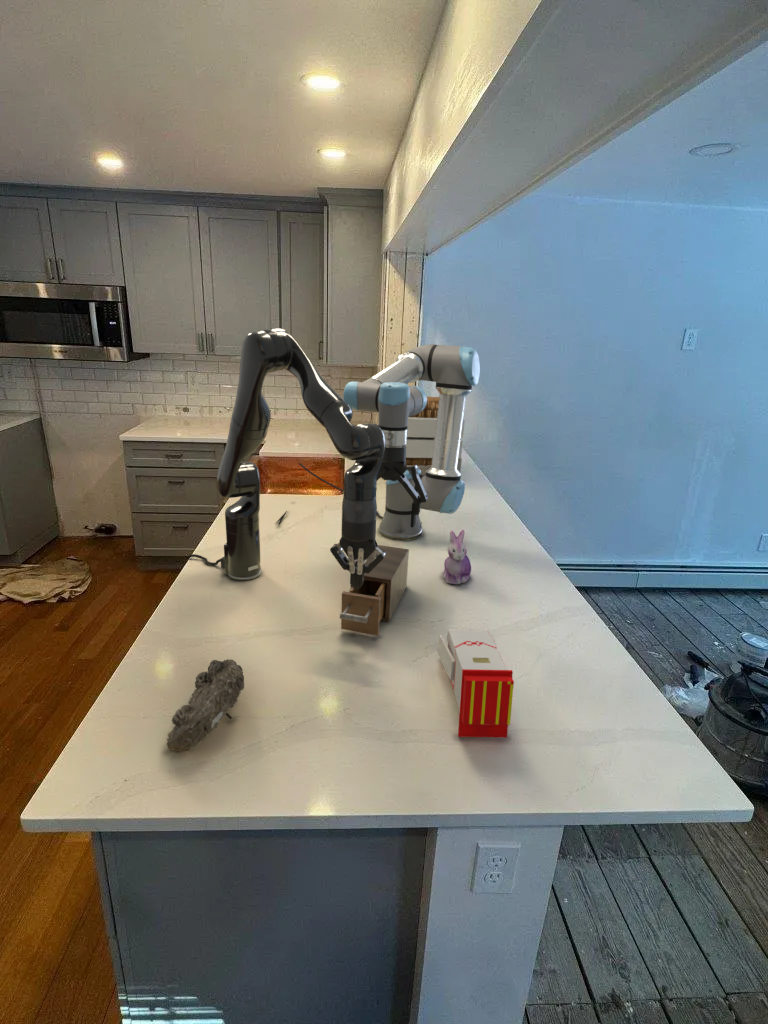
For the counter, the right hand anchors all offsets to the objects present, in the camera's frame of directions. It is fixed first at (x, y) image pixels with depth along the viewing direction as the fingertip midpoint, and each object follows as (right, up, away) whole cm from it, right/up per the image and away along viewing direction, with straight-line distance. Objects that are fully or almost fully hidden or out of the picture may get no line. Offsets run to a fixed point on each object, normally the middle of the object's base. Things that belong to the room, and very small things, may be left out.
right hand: (388, 522), depth 152 cm
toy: (+17, -35, -33) cm, 51 cm away
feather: (-38, +2, +61) cm, 72 cm away
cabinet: (-2, -21, +2) cm, 21 cm away
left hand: (-7, -14, -23) cm, 28 cm away
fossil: (-34, -36, -44) cm, 66 cm away
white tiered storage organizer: (+16, +22, +123) cm, 126 cm away
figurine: (+20, -17, +16) cm, 31 cm away
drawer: (-5, -24, -10) cm, 26 cm away
